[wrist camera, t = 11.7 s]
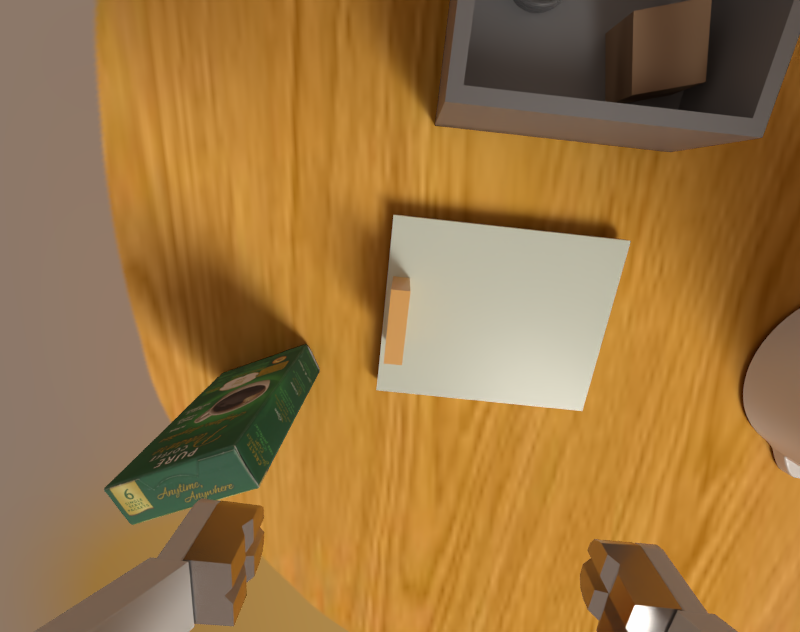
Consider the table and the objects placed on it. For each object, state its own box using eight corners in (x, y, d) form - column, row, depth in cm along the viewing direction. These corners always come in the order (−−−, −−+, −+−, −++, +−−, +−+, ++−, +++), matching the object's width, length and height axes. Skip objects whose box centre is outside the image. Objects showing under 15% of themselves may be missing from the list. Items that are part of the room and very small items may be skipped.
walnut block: (673, 20, 23) (712, -4, 20) (670, 95, 24) (705, 81, 21) (605, 33, 23) (633, 11, 20) (605, 106, 24) (631, 95, 21)
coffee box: (234, 401, 32) (126, 533, 20) (218, 372, 31) (94, 490, 19) (322, 371, 31) (266, 491, 19) (307, 341, 30) (238, 444, 18)
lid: (616, 238, 28) (668, 248, 22) (572, 399, 32) (607, 442, 27) (394, 213, 28) (391, 218, 22) (378, 379, 32) (372, 418, 26)
